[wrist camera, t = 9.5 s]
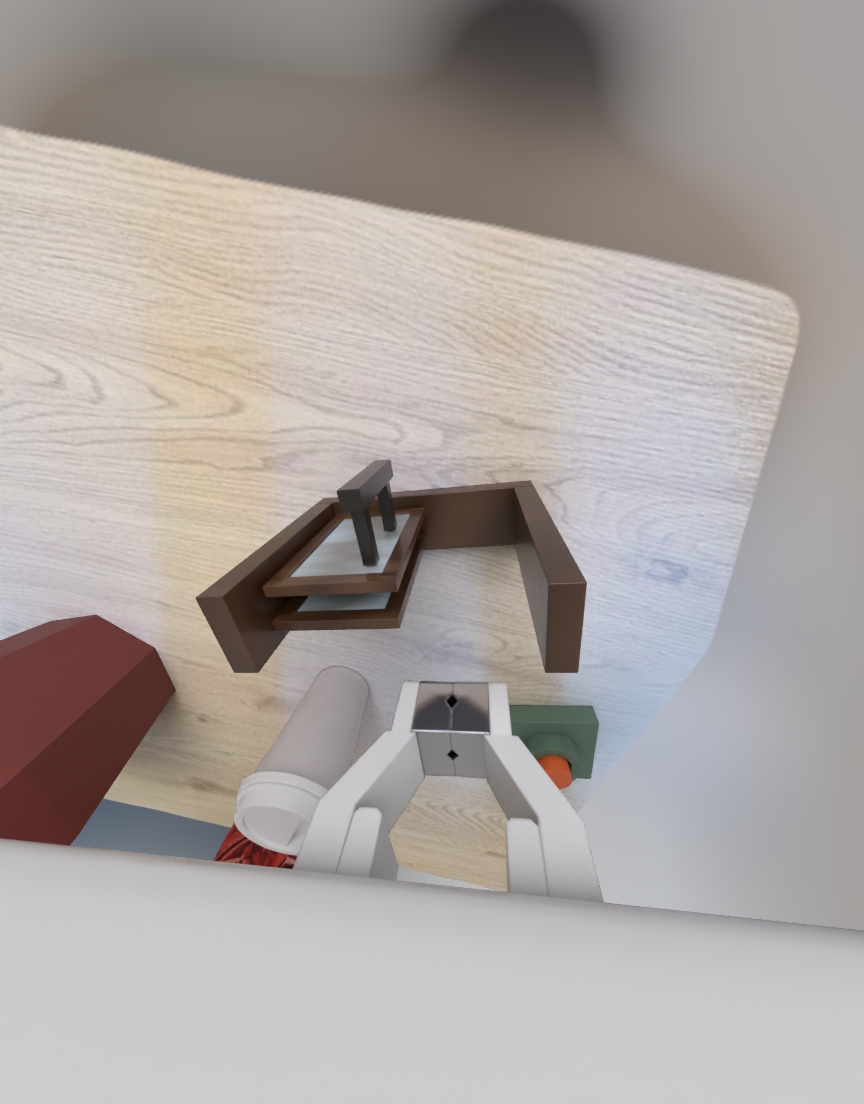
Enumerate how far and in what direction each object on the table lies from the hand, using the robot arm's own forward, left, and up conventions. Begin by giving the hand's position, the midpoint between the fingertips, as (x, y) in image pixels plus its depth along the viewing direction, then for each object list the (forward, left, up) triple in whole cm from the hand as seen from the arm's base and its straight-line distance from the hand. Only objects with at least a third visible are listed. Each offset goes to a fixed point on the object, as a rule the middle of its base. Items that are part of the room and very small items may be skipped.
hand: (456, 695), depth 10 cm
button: (-7, +31, -17) cm, 36 cm away
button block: (-7, +31, -21) cm, 38 cm away
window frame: (+4, +2, -21) cm, 21 cm away
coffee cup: (+17, +23, -21) cm, 35 cm away
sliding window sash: (+7, -2, -19) cm, 20 cm away
